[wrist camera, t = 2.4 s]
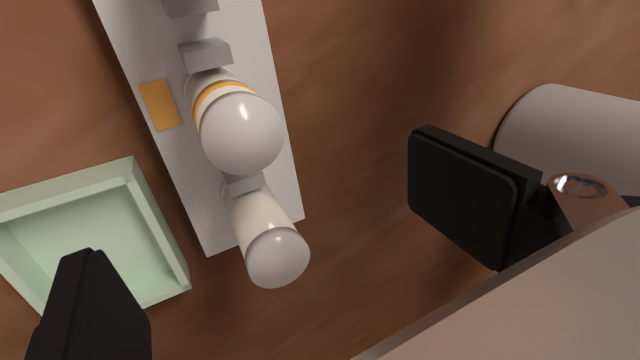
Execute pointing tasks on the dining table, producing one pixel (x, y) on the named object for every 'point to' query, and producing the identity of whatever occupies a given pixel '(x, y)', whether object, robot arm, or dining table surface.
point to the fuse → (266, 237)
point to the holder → (171, 109)
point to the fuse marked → (233, 121)
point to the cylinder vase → (575, 135)
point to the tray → (90, 232)
